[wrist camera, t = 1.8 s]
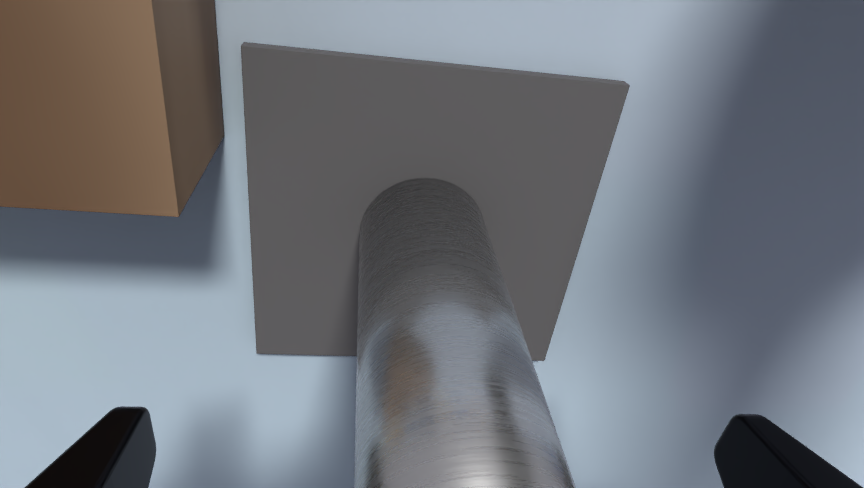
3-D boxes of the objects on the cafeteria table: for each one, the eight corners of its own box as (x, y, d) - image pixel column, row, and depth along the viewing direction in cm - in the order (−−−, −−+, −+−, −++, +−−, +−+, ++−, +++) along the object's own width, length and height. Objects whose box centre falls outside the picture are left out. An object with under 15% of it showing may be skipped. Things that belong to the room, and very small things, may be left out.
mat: (624, 81, 12) (629, 85, 12) (541, 353, 17) (544, 360, 16) (243, 42, 11) (241, 45, 11) (258, 345, 15) (256, 353, 15)
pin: (514, 167, 13) (787, 700, 5) (485, 299, 15) (638, 839, 7) (346, 155, 12) (301, 735, 4) (339, 294, 14) (300, 875, 6)
